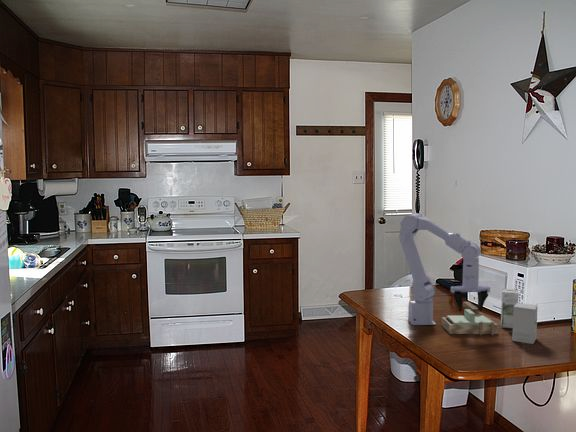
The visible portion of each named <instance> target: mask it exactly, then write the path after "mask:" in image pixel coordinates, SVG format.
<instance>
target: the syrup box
mask: <svg viewBox="0 0 576 432" xmlns="http://www.w3.org/2000/svg"><path fill="white" fill-rule="evenodd" d="M516 303H519V290H518V289H509V288H507V289H506V288H501V307H500V308H501V309H500V327H501V328H502V329H512V330H513V310H514V306H515V305H516Z"/></svg>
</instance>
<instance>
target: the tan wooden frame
mask: <svg viewBox="0 0 576 432" xmlns="http://www.w3.org/2000/svg"><path fill="white" fill-rule="evenodd" d="M479 315H484V314H483V313H482V312H479ZM485 317H486V318H488V319H489V320H490V321H492V322H491V325H483V322H479V325H454V324H453V323H452V322H451V321H450V320H449V319H448V318H447V316H446V317H441V327H442V328H443V329H444V330H445V331H446V332H447V333H448V334H450V335H479V336H483V335H491V336H494V335H498V331H499V330H498V328H499V325H498V323H496V322H495V321H493V320H492V319H491V318H490V317H489V316H488V317H487V316H485Z"/></svg>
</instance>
